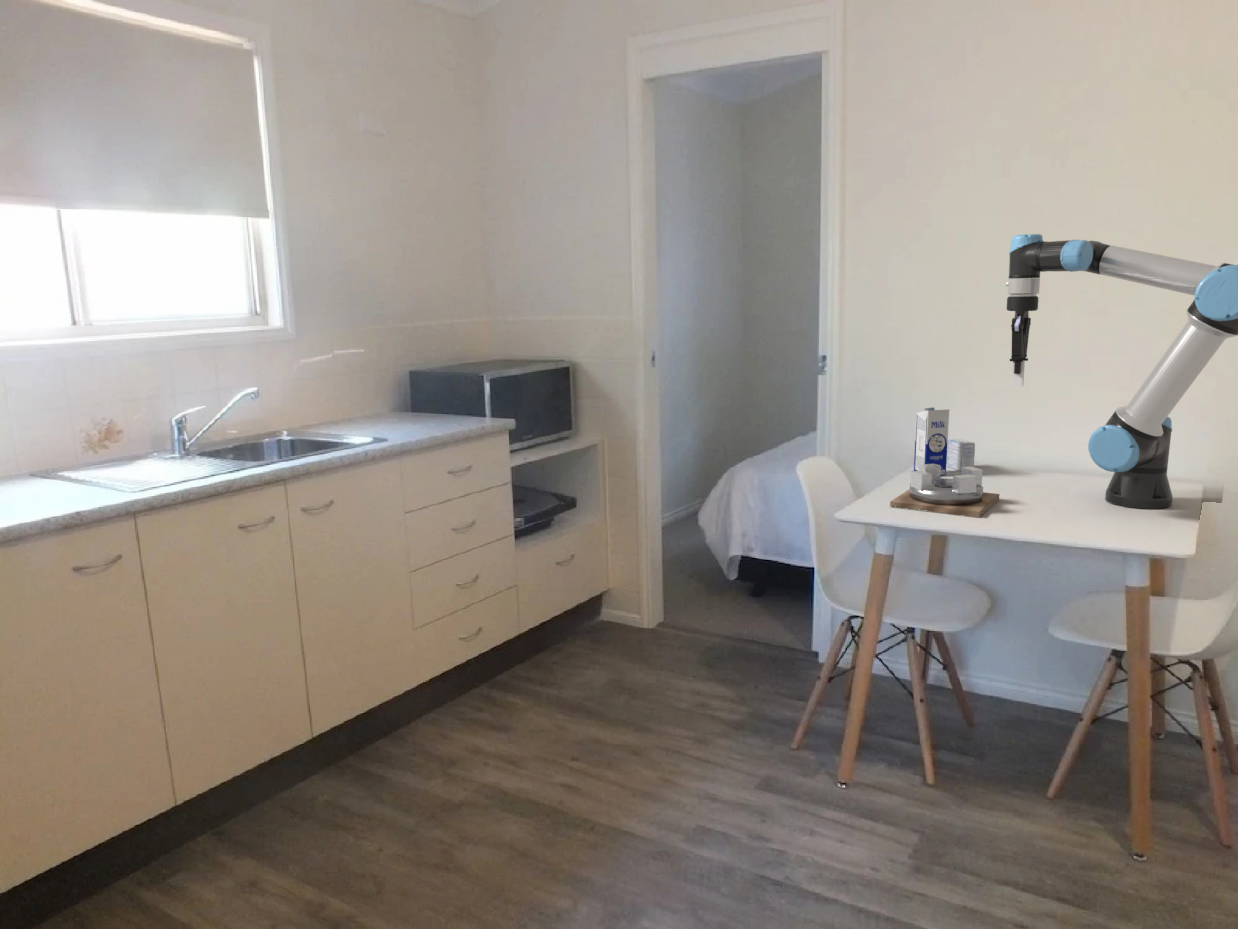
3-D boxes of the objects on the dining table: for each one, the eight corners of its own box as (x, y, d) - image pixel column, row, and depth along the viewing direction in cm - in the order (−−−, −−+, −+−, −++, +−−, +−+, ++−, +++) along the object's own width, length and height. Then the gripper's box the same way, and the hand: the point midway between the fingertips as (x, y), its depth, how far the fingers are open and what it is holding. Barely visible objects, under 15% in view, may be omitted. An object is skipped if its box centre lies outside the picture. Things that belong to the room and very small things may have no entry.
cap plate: (999, 499, 246) (999, 493, 245) (979, 517, 228) (979, 510, 227) (915, 490, 258) (915, 484, 257) (890, 507, 240) (890, 500, 239)
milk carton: (924, 476, 275) (927, 409, 271) (913, 472, 281) (916, 406, 277) (946, 475, 276) (949, 408, 272) (934, 471, 283) (937, 405, 279)
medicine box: (974, 470, 282) (975, 442, 280) (961, 471, 281) (962, 443, 279) (959, 466, 290) (960, 438, 288) (946, 466, 289) (947, 439, 287)
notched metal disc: (976, 507, 230) (978, 480, 229) (902, 500, 239) (903, 474, 238) (987, 493, 246) (989, 467, 244) (917, 486, 254) (918, 461, 253)
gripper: (1012, 294, 249) (1007, 382, 254) (1002, 296, 238) (997, 387, 243) (1042, 294, 245) (1036, 383, 250) (1034, 295, 234) (1028, 389, 239)
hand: (1017, 385), depth 246 cm, fingers closed
